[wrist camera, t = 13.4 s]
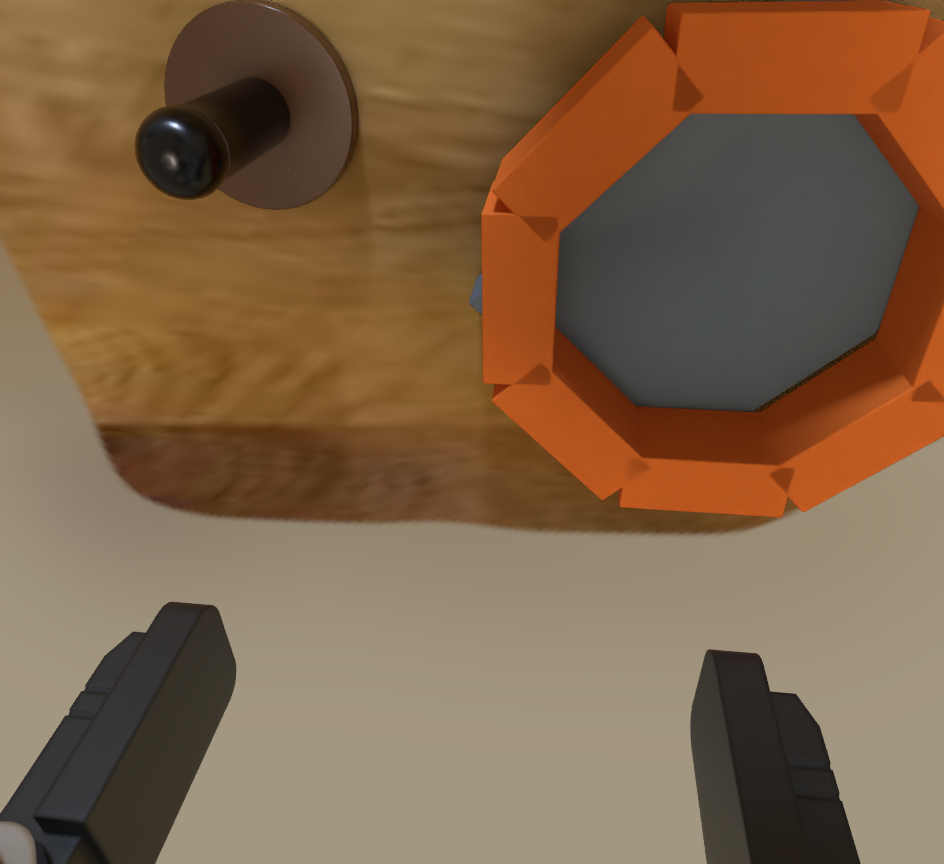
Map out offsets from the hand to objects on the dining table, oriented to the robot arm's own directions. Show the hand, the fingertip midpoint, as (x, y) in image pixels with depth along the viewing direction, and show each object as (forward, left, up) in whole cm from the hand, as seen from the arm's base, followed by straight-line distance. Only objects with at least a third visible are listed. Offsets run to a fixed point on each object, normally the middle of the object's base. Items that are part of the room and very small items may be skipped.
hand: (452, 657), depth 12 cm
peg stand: (+4, -10, -20) cm, 23 cm away
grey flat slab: (-5, +5, -20) cm, 21 cm away
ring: (-5, +5, -18) cm, 19 cm away
